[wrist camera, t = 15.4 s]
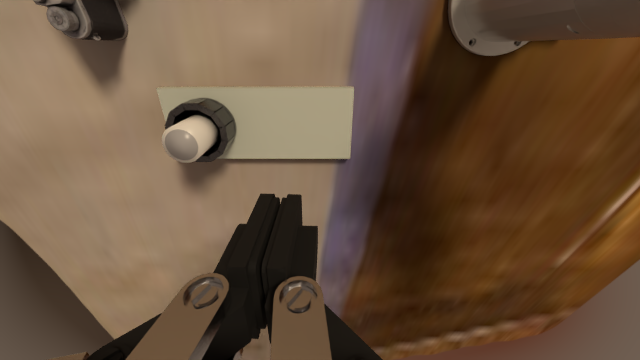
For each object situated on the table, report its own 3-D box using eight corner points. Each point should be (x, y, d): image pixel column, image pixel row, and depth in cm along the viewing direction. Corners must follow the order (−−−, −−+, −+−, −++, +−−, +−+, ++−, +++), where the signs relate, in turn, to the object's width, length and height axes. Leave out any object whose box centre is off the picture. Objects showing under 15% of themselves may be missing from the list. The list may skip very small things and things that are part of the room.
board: (352, 86, 35) (354, 87, 34) (349, 154, 39) (350, 158, 38) (162, 86, 35) (156, 88, 34) (180, 154, 40) (176, 158, 38)
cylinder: (219, 111, 34) (196, 125, 28) (225, 143, 36) (204, 163, 30) (187, 111, 34) (155, 126, 28) (194, 143, 36) (167, 163, 30)
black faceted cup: (231, 97, 34) (221, 103, 31) (240, 151, 38) (231, 161, 34) (175, 97, 34) (158, 103, 31) (188, 151, 38) (174, 161, 34)
